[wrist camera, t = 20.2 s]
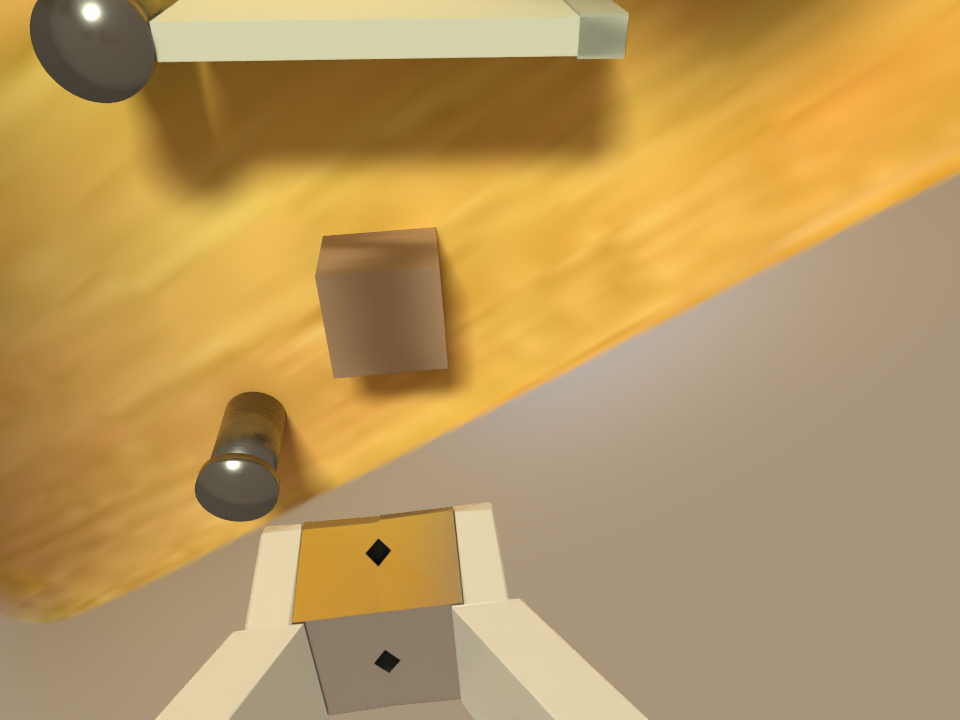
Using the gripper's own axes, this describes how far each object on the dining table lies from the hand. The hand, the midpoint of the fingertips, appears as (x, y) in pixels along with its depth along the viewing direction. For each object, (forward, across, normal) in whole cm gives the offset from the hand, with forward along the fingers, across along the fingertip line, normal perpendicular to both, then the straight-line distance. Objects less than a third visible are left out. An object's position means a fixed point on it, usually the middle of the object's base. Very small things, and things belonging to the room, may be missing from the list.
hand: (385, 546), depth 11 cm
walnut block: (+25, +1, +9) cm, 27 cm away
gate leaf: (+24, -1, -2) cm, 25 cm away
